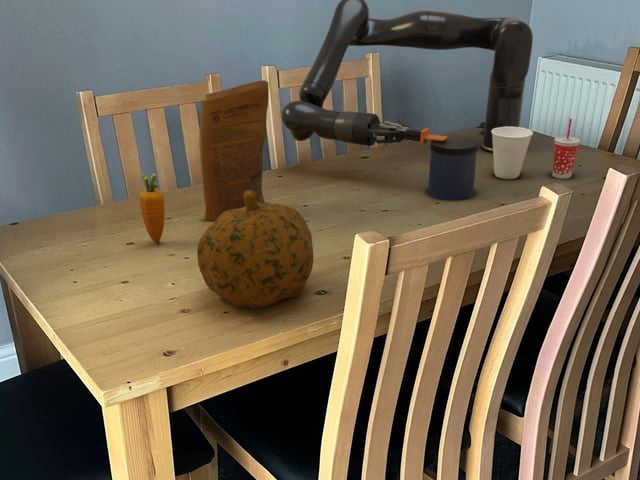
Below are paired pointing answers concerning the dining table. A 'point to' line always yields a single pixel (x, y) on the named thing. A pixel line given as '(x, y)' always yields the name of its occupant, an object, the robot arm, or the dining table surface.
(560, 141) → the beverage cup
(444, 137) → the slider
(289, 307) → the dining table surface
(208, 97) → the pancake mix bag
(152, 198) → the carrot
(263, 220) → the decorative pumpkin
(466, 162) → the blue lidded canister
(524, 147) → the cup
